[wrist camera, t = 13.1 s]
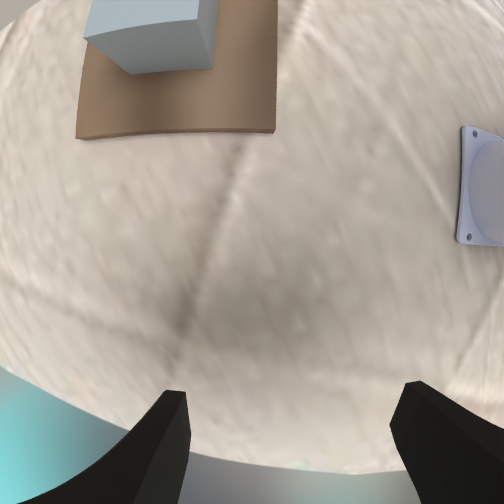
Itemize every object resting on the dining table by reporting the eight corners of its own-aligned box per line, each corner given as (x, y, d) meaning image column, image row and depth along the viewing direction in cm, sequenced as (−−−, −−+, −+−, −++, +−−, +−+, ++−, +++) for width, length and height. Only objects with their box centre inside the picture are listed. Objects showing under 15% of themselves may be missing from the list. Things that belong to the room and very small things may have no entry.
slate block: (218, 2, 12) (208, -57, 7) (212, 68, 13) (196, 19, 8) (140, 10, 12) (106, -39, 7) (130, 75, 13) (83, 38, 8)
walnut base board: (275, -22, 13) (277, -33, 11) (273, 133, 15) (275, 129, 14) (109, -8, 12) (102, -16, 11) (85, 140, 15) (75, 138, 14)
